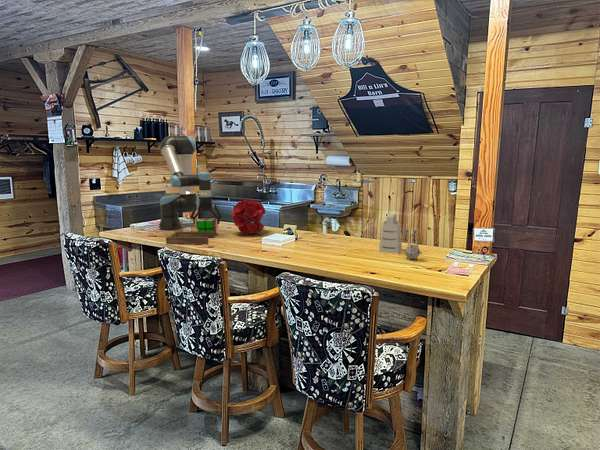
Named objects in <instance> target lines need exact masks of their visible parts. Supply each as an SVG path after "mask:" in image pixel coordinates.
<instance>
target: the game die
mask: <svg viewBox="0 0 600 450" xmlns="http://www.w3.org/2000/svg"><path fill="white" fill-rule="evenodd" d="M402 251H403V252H404V254H405V256H406V259H407V260H408V259H411V260H415V261H418V257H419V255H421V254H422V252H421V251H420V248H419V243H418V244H411V243H407V246H406V247H405V249H402ZM406 259H405V260H406Z"/></svg>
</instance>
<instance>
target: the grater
mask: <svg viewBox="0 0 600 450" xmlns="http://www.w3.org/2000/svg"><path fill="white" fill-rule="evenodd" d="M401 235H402V234H401V224H400V221H397V214H396V213H388V214H386V220H385V221H384V222H382V227H381V234H380V240H379V248H378V252H379V253H385V252H387V254H396V253H398V254H399V253H401V251H403V244H402V236H401Z"/></svg>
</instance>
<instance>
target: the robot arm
mask: <svg viewBox="0 0 600 450" xmlns="http://www.w3.org/2000/svg"><path fill="white" fill-rule="evenodd" d="M196 149H197V146H196V141H195V139H194V137H193V136H191V135H168V136H165V137H164V138H163V139H162V140H161V141H160V145H159V150H160V154H161V155H162V156H163V157H164V159H165V162H166V165H167V167H168V170H169V172H170V174H171V175H170V180H169V182H170V186H171V187H172V188H180V192H179V193H178V194H179V195H177V194H169V195H164V196H162V197H160V199H159V205H160V221H159V226H158V229H159V230H161V231H174V230H175V231H176V230H180V229H182V223H181V220H180V217H179V214H180V213H181V214H182V213H191V214H190V216H189V218H190V219H192V223H193V225H194V229H195V230H198V228H197V221H198V216H199V215H200V213H201V212H202V211H203V212H211V214H212V215H213V216H214V218H215V219H216V230H218V229H219V225H220V219H222V218H223V216H222V213H221V211H220V209H219V208H218V204H217V203H212V179H211V178H212V177H211V173H210V171H201V172H198V173H196V174H193V163H192V160H193V159H192V157H193V156H194V153H196V151H197V150H196ZM194 187H198V194H199V195H197V192H196V191H194ZM199 208H200V209H199ZM213 208H214V209H213ZM214 210H215V211H214ZM196 211H197V212H196ZM195 213H196V214H195Z"/></svg>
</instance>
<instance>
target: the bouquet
mask: <svg viewBox="0 0 600 450" xmlns="http://www.w3.org/2000/svg"><path fill="white" fill-rule="evenodd" d="M266 212H267V210H266V208H265V207H264V205H263V203H262V202H261V201H255V200H254V199H247V198H245V199H244V201H243V200H239V201H238V202H237V203H236V205H235V206H234V208H233V209H232V210H231V212H230V214H231V217H232V220H233V224H234V226H235V227H236V228H238V230H239V231H240V233H242V234H245V235H250V234H254V235H255V234H257V233H259V232H260V231H261V230H263V229H264V227H265V224H264V223H263V222H262V221H261V220H262V218H263V215H265V214H266Z"/></svg>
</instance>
